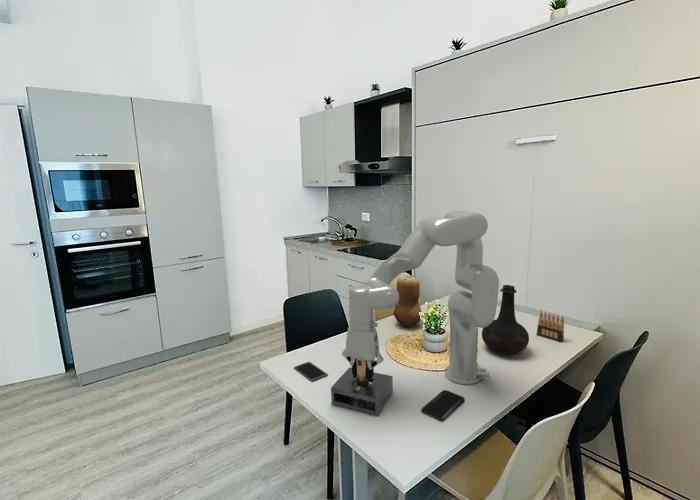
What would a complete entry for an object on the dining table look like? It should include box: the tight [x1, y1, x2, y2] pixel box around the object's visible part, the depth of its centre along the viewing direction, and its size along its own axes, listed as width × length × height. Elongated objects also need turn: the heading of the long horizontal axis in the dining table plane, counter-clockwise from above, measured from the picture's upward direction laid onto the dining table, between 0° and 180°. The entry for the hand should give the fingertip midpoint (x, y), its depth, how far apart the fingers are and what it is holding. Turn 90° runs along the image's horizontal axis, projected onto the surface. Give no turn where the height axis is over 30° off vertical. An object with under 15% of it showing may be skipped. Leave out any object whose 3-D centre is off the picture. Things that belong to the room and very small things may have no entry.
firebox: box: [330, 366, 394, 417], centre depth 119 cm, size 16×14×6 cm
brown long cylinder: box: [356, 358, 370, 400], centre depth 118 cm, size 4×4×16 cm
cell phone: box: [293, 361, 329, 383], centre depth 138 cm, size 7×14×1 cm, turn 38°
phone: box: [420, 389, 466, 423], centre depth 115 cm, size 8×1×15 cm
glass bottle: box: [481, 284, 530, 356], centre depth 148 cm, size 18×18×28 cm
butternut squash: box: [393, 275, 422, 329], centre depth 178 cm, size 14×13×25 cm
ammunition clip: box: [536, 309, 565, 344], centre depth 160 cm, size 11×2×12 cm, turn 38°
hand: (362, 376), depth 118 cm, fingers open, 4 cm apart
